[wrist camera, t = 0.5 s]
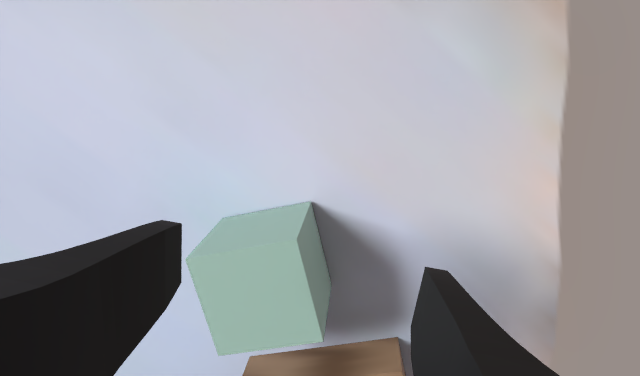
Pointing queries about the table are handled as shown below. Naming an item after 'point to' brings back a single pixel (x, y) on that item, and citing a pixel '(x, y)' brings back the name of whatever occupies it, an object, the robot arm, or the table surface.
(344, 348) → the walnut block
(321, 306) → the green cube
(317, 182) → the table surface
